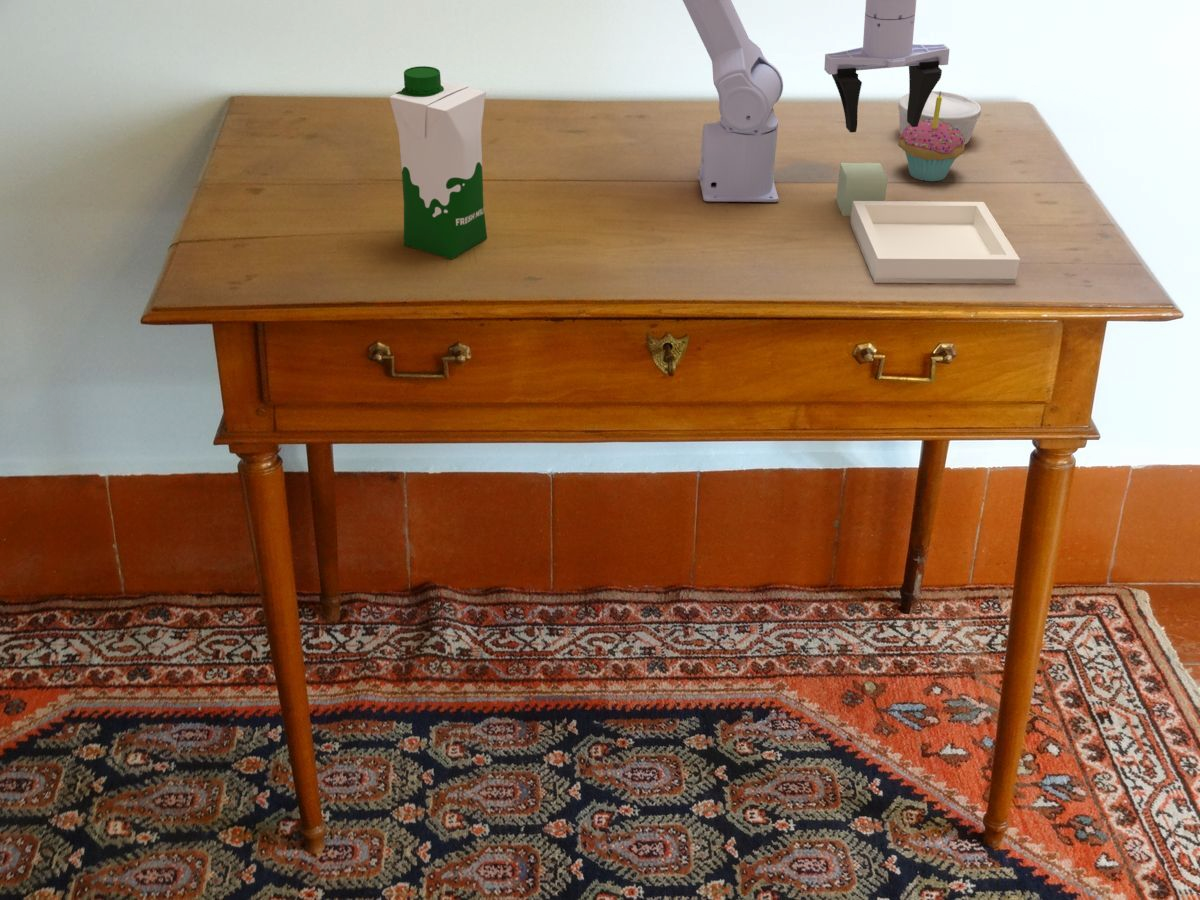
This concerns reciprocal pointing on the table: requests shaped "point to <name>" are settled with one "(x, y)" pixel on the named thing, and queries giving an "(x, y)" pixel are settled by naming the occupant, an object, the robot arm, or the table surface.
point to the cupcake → (931, 147)
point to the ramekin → (946, 112)
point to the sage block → (860, 184)
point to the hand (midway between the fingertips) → (881, 127)
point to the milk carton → (440, 162)
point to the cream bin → (933, 242)
